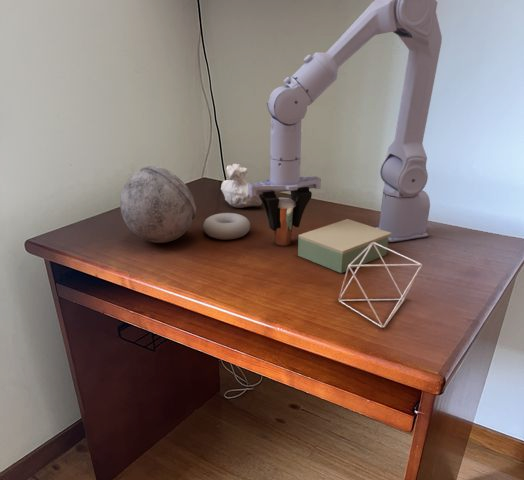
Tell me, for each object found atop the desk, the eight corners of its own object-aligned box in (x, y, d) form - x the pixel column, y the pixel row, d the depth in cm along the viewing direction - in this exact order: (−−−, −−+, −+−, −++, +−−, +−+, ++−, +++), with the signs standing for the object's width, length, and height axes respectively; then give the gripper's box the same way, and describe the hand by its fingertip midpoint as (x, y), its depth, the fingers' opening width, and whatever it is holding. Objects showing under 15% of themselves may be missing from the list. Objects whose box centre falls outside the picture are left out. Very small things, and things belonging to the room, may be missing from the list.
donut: (197, 240, 114) (244, 243, 112) (196, 224, 112) (243, 226, 110) (211, 225, 122) (254, 227, 120) (210, 209, 120) (254, 211, 118)
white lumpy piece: (221, 210, 137) (201, 180, 128) (235, 186, 139) (216, 155, 129) (260, 219, 131) (241, 189, 122) (274, 194, 133) (257, 162, 123)
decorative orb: (211, 239, 114) (207, 165, 106) (156, 260, 105) (147, 180, 97) (165, 224, 122) (158, 154, 114) (111, 241, 113) (99, 167, 105)
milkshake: (290, 249, 109) (292, 199, 104) (267, 243, 111) (268, 194, 106) (301, 242, 112) (304, 194, 107) (278, 237, 115) (280, 189, 109)
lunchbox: (343, 239, 114) (344, 222, 112) (386, 254, 106) (388, 237, 104) (297, 255, 106) (298, 238, 104) (341, 273, 99) (342, 254, 97)
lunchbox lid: (347, 221, 112) (347, 218, 112) (391, 235, 105) (391, 232, 105) (298, 237, 104) (298, 234, 104) (342, 254, 97) (342, 251, 97)
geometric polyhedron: (382, 288, 94) (387, 237, 89) (428, 313, 86) (437, 259, 81) (323, 306, 88) (325, 252, 84) (367, 334, 80) (372, 277, 76)
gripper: (257, 165, 97) (257, 238, 105) (329, 158, 102) (325, 229, 109) (243, 157, 103) (245, 227, 110) (313, 150, 107) (310, 218, 115)
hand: (284, 227), depth 110 cm, fingers closed on milkshake, 4 cm apart
